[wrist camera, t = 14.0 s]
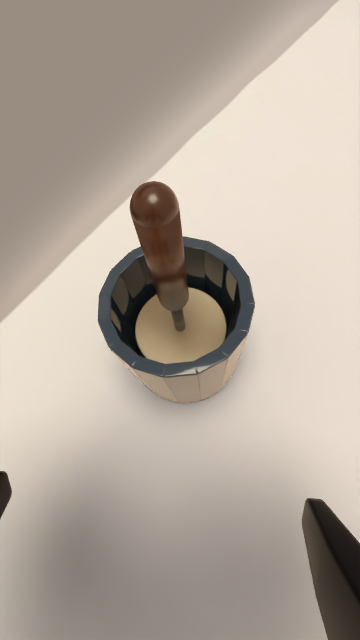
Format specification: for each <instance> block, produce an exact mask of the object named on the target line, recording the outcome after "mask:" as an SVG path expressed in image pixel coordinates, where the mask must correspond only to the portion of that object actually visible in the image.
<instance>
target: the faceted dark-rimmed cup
mask: <svg viewBox="0 0 360 640" xmlns="http://www.w3.org/2000/svg"><path fill="white" fill-rule="evenodd" d="M182 237H183V236H182ZM183 246H184V255H185V264H186V272H187V281H188V287H189V288H194V289H197V290H200V291H202V292H204V293H206V294H208V295H209V296H211V297H212V298H213V299H214V300H215V301H216V302H217V303H218V305H219V306H220V307H221V309H222V311H223V313H224V316H225V320H226V337H225V341H224V342H223V343H222V344H221V345H220V347H219V348H217V349H215V350H214V351H212V352H210V353H208V354H206V355H204V356H202V357H200V358H198V359H197V360H195V361H189V362H179V363H169V364H164V363H161V362H158V361H154V360H151V359H147V358H145V357H144V355H143V354H142V352H141V350H140V349H139V346H138V344H137V340H136V335H135V327H136V321H137V318H138V315H139V313H140V311H141V309H142V308H143V306H144V305H145V304H146V303H147V302H148V301H149V300H150V299H151V298H152V297H153V296H155V295H156V294H157V293H156V290H155V287H154V284H153V281H152V278H151V275H150V272H149V269H148V266H147V263H146V260H145V256H144V253H143V250H142V247H139V248H137V249H134V250H132V251H131V252H129V253H128V254H127V255H126V256H125V257H124V258H123V259H122V260H121V261H120V262H119V263H118V264H117V265H116V266H115V267H114V268H112V270H111V271H110V273H109V275H108V277H107V279H106V281H105V283H104V285H103V287H102V289H101V292H100V295H99V307H98V324H99V326H100V328H101V331H102V333H103V335H104V338H105V340H106V342H107V345H108V347H109V348H110V350H111V351H112V352H113V353H114V354H115V355H116V356H117V357H118V358H119V359H120V360H121V361H122V362H123V363H124V364H125V365H126V366H127V367H128V368H129V369H130V370H131V371H132V372H133V373H134V374H135V375H136V376H137V377H138V378H139V379H140V380H141V381H142V382H143V383H144V384H145V385H146V386H147V387H148V388H150V389H151V390H152V391H153V392H154V393H155V394H156V395H158V396H160V397H162V398H164V399H166V400H169V401H173V402H177V403H193V402H198V401H202V400H205V399H207V398H209V397H211V396H213V395H214V394H216V393H217V392H218V391H220V390H221V389H222V388H223V387H224V386H225V384H226V383H227V382H228V380H229V379H230V377H231V376H232V374H233V372H234V370H235V368H236V365H237V362H238V359H239V357H240V354H241V351H242V349H243V346H244V343H245V340H246V338H247V335H248V332H249V328H250V324H251V320H252V316H253V312H254V308H255V302H254V297H253V292H252V288H251V283H250V279H249V276H248V275H247V274H246V272H245V271H244V269H243V268H242V267H241V265H240V264H239V263H238V261H237V260H236V259H235V257H234V256H232V255H231V254H229V253H228V252H226V251H225V250H223V249H221V248H220V247H218V246H216V245H215V244H213V243H211V242H209V241H204V240H199V239H194V238H189V237H183Z"/></svg>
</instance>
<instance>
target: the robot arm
mask: <svg viewBox="0 0 360 640" xmlns="http://www.w3.org/2000/svg"><path fill="white" fill-rule="evenodd" d="M11 493H12V490H11V486H10V483H9V479H8V475H7V473H6V472H4V471H0V518H1V516H2V514H3V512H4V510H5V508H6V506H7V504H8V502H9V500H10V497H11ZM302 527H303V533H304V538H305V543H306V548H307V553H308V558H309V564H310V569H311V574H312V579H313V584H314V589H315V594H316V598H317V602H318V606H319V609H320V613H321V616H322V620H323V623H324V627H325V630H326V634H327V637H328V640H360V543H359V542H358V541H357V540H356V538H355V537H354V536H353V535H352V534H351V533H350V531H349V530H348V529H347V528H346V527H345V526H344V524H343V523H342V522H341V521H340V520H339V519H338V517H337V516H336V515H335V514H334V513H333V512H332V510H331V509H330V508H329V507H328V506H327V505H326V503H325V502H324V501H322V500H321V499H313V498H307V499H306V501H305V505H304V511H303V516H302Z"/></svg>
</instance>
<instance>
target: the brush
mask: <svg viewBox="0 0 360 640" xmlns="http://www.w3.org/2000/svg"><path fill="white" fill-rule="evenodd" d="M130 212H131V216H132V220H133V223H134V226H135V229H136V232H137V235H138V238H139V241H140V244H141V247H142V250H143V253H144V256H145V260H146V263H147V266H148V269H149V272H150V275H151V278H152V281H153V284H154V287H155V290H156V293H157V294H156V295H155V296H153V297H152V298H151V299H150V300H149V301H148V302H147V303H146V304H145V305H144V306H143V308H142V309H141V311H140V313H139V315H138V318H137V321H136V327H135V335H136V340H137V344H138V346H139V349H140V350H141V352H142V354H143V355H144V357H145V358H147V359H151V360H154V361H158V362H161V363H164V364H169V363H179V362H189V361H195V360H197V359H198V358H200V357H202V356H204V355H206V354H208V353H210V352H212V351H214V350H215V349H217V348H219V347H220V345H221V344H222V343H223V342H224V341H225V337H226V320H225V316H224V313H223V311H222V309H221V307H220V306H219V305H218V303H217V302H216V301H215V300H214V299H213V298H212V297H211V296H209V295H208V294H206V293H204V292H202V291H200V290H197V289H194V288H189V287H188V281H187V272H186V264H185V255H184V246H183V237H182V228H181V220H180V211H179V203H178V200H177V197H176V195H175V193H174V192H173V191H172V190H171V188H170V187H168V186H167V185H165V184H163V183H161V182H156V181H152V182H147V183H144V184H142V185H141V186H139V187H138V188H137V189H136V190H135V192H134V193H133V195H132V198H131V201H130Z"/></svg>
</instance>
